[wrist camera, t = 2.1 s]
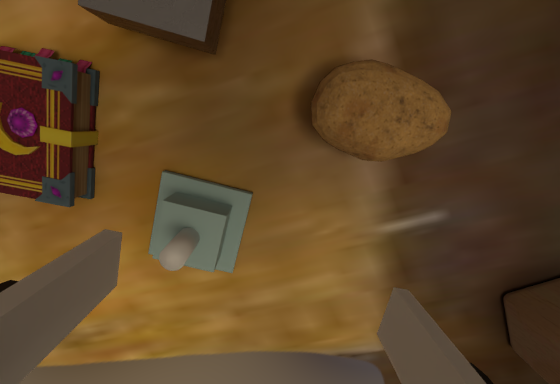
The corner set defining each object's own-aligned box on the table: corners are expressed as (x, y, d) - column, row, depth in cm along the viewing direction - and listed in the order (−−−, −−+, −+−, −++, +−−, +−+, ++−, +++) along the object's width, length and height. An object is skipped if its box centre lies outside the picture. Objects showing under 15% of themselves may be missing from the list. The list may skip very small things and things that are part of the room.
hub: (165, 170, 33) (120, 188, 24) (252, 192, 34) (243, 219, 24) (151, 250, 36) (105, 296, 26) (233, 269, 37) (217, 320, 27)
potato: (409, 165, 34) (449, 177, 26) (298, 146, 33) (304, 152, 25) (433, 83, 31) (484, 68, 24) (314, 60, 31) (327, 38, 23)
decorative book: (3, 179, 34) (-43, 188, 29) (-2, 39, 30) (-56, 22, 25) (96, 197, 34) (67, 208, 29) (102, 61, 31) (70, 49, 26)
